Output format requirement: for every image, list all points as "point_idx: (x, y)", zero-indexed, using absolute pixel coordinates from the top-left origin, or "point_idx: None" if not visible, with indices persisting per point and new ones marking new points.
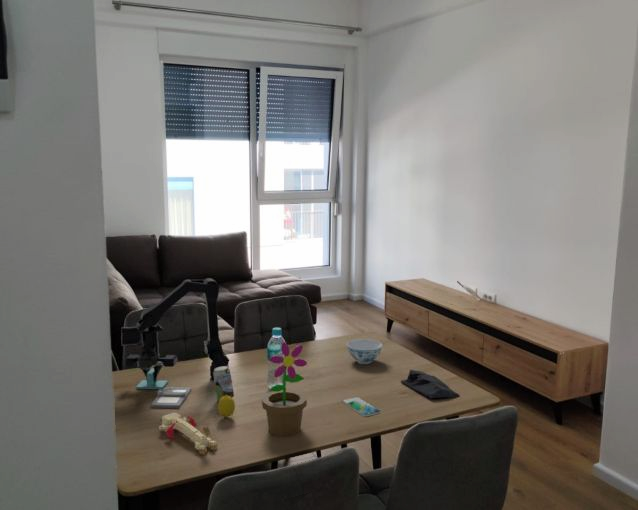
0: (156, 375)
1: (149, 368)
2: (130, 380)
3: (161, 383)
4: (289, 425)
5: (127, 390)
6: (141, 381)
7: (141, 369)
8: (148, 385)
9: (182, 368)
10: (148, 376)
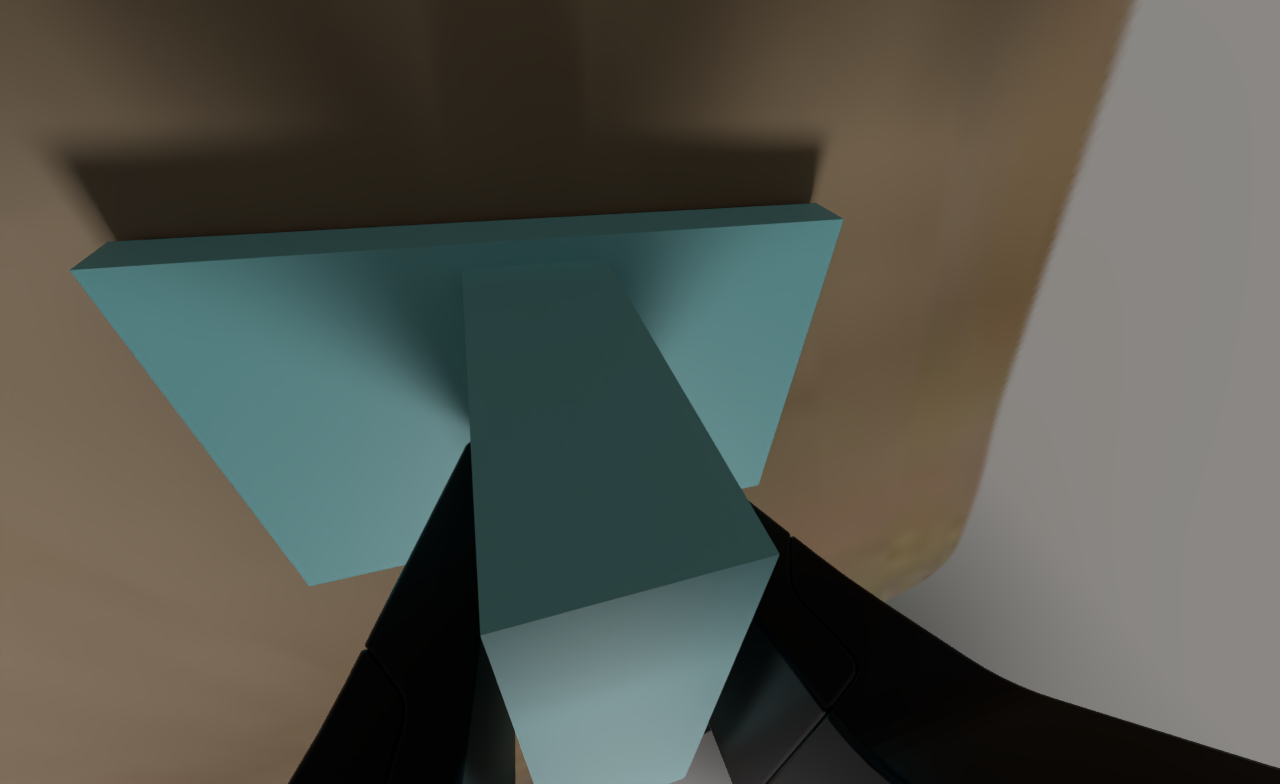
0: (381, 623)
1: (736, 773)
2: (881, 466)
3: (341, 467)
4: None
5: (974, 108)
6: (765, 447)
7: (1081, 708)
8: (573, 276)
9: None
10: (637, 466)
